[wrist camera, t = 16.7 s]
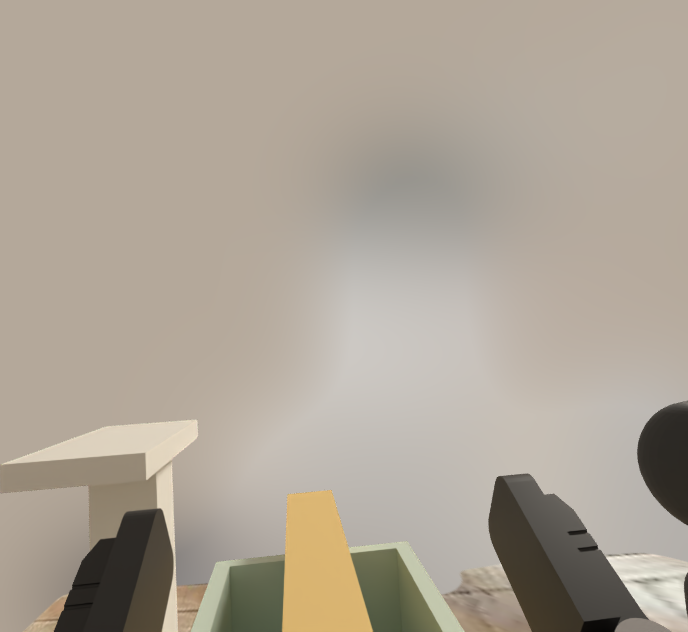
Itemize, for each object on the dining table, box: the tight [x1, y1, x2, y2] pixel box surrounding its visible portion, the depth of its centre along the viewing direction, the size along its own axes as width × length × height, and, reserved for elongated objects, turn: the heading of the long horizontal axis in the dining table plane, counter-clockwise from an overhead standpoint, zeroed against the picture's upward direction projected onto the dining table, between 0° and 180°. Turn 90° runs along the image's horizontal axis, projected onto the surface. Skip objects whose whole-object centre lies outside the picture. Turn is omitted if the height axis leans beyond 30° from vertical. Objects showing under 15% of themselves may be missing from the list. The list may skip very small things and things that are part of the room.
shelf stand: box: [0, 420, 198, 632], centre depth 44 cm, size 20×10×32 cm, turn 6°
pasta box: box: [282, 490, 373, 632], centre depth 30 cm, size 28×4×4 cm, turn 6°
